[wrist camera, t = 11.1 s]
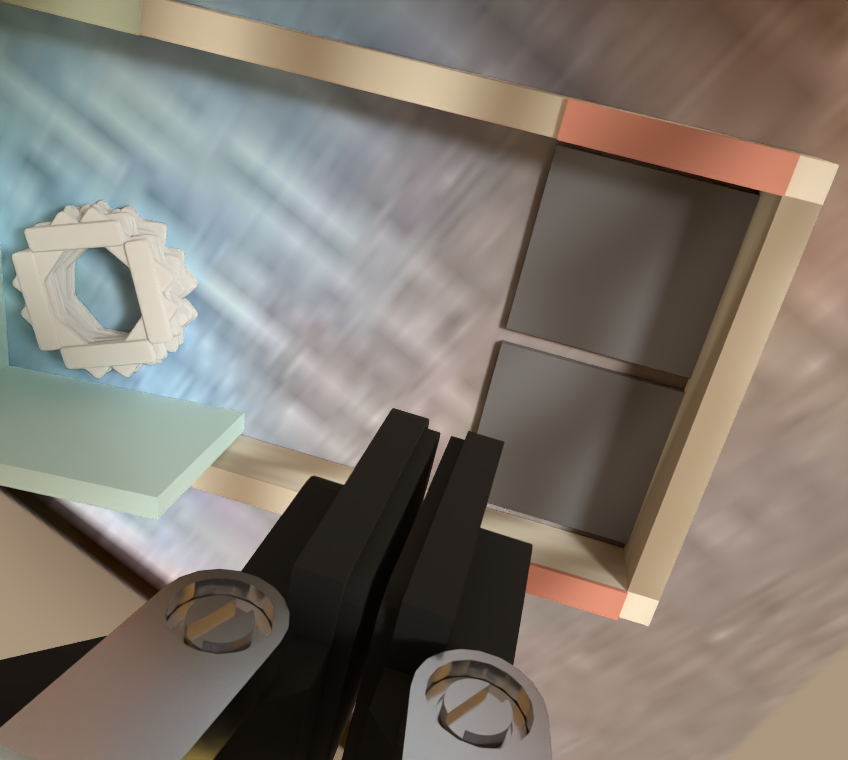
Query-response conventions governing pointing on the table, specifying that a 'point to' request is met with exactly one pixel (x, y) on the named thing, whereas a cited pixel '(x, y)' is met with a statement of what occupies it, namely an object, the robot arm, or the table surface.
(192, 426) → the l-shaped corner panel
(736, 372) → the box
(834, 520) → the table surface
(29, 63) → the table surface
